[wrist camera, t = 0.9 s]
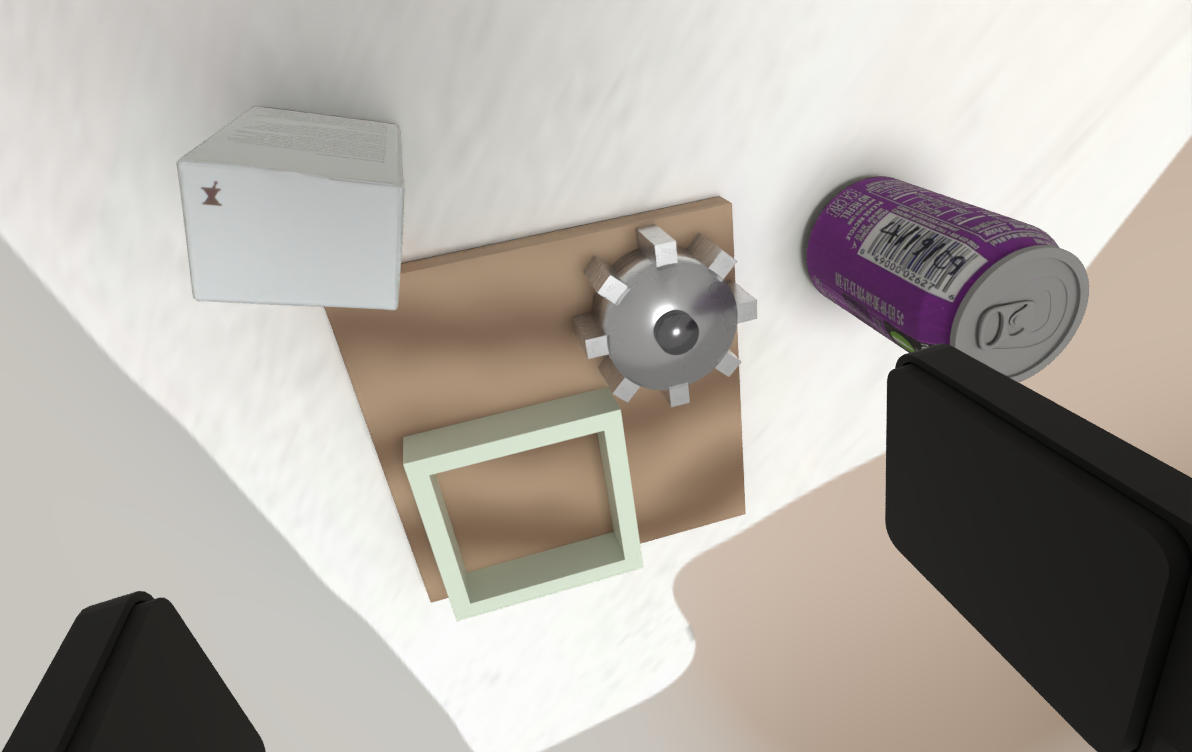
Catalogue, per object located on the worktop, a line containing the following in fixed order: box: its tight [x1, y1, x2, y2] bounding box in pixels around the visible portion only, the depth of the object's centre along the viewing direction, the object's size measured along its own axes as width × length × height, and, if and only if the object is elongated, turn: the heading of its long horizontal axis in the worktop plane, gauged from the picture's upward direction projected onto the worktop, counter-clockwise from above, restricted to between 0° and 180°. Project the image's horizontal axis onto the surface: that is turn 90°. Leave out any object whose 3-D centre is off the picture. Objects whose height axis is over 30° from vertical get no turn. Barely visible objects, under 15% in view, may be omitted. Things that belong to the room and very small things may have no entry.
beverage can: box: [807, 177, 1089, 383], centre depth 34 cm, size 7×7×12 cm
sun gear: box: [572, 224, 757, 407], centre depth 34 cm, size 9×9×4 cm
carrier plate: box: [325, 196, 745, 602], centre depth 38 cm, size 20×20×2 cm
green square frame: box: [403, 387, 643, 621], centre depth 38 cm, size 11×11×2 cm
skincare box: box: [177, 106, 404, 310], centre depth 26 cm, size 6×4×12 cm
